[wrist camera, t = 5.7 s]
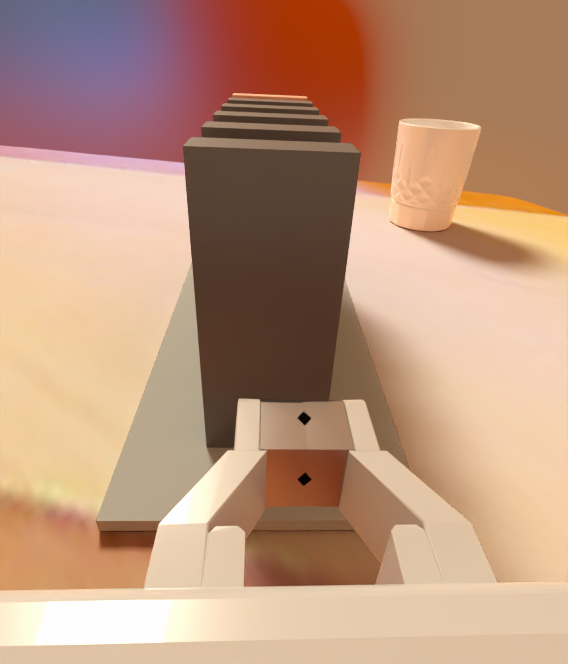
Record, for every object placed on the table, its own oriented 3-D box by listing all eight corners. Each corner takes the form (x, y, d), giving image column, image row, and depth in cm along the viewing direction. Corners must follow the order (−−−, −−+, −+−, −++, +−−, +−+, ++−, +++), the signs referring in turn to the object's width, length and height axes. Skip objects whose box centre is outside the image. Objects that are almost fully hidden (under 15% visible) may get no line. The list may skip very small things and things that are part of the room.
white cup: (468, 224, 48) (495, 126, 43) (431, 239, 43) (457, 131, 38) (407, 207, 53) (425, 117, 48) (368, 219, 48) (383, 120, 43)
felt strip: (98, 531, 16) (95, 520, 15) (200, 246, 39) (200, 240, 39) (423, 529, 16) (426, 520, 16) (331, 250, 40) (332, 243, 40)
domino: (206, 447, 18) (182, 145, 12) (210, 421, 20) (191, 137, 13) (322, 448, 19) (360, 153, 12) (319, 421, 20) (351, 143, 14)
